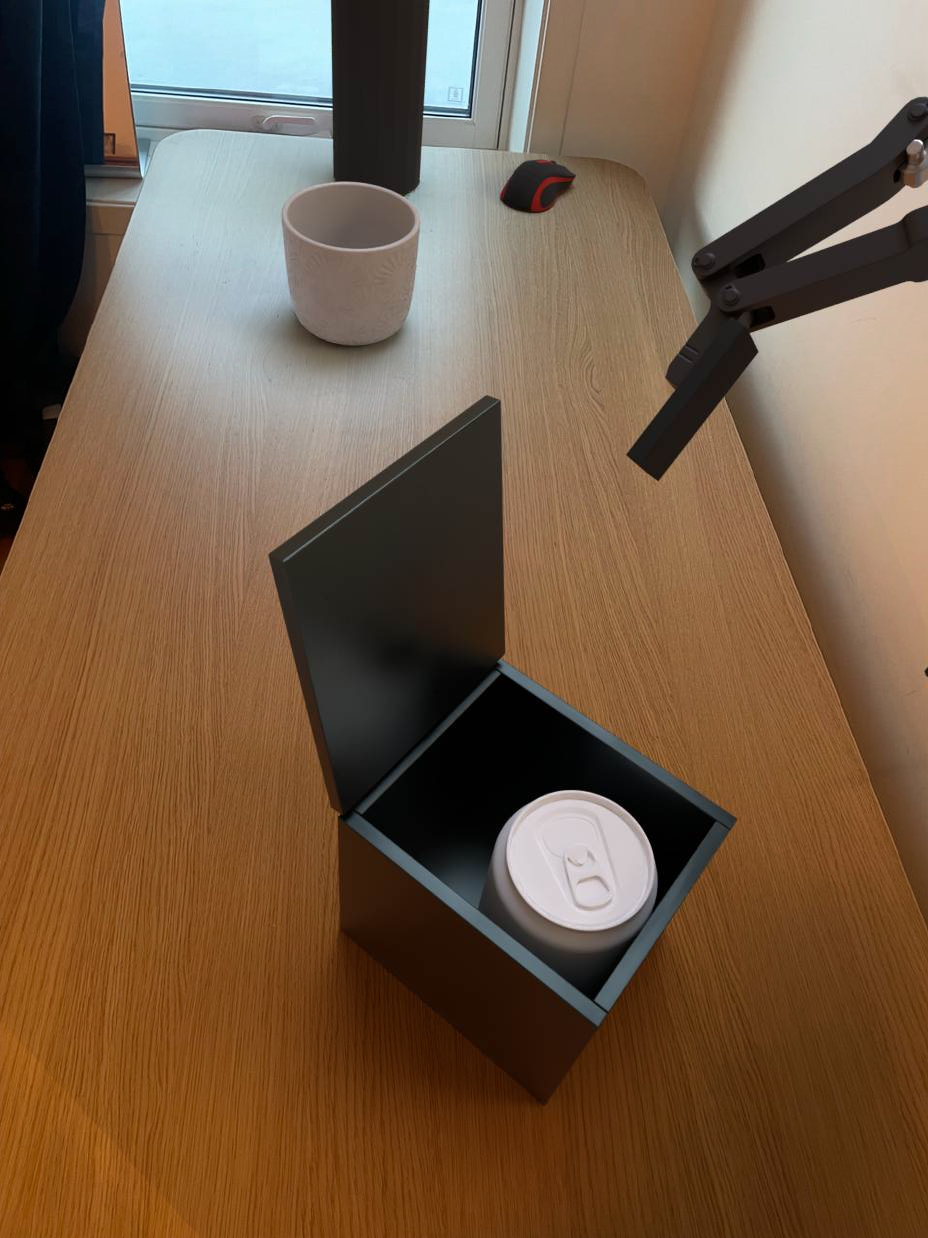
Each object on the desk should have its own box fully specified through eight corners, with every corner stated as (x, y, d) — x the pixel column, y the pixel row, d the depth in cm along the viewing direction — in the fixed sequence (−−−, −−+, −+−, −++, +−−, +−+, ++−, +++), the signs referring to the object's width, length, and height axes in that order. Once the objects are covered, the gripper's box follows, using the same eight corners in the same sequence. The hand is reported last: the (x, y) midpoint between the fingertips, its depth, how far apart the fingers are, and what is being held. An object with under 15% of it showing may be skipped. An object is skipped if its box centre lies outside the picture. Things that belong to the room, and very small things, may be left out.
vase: (339, 199, 107) (336, -127, 84) (327, 157, 113) (321, -158, 90) (427, 197, 109) (448, -122, 86) (410, 156, 115) (425, -151, 92)
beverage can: (580, 867, 57) (625, 766, 48) (632, 999, 52) (693, 916, 43) (452, 899, 55) (474, 800, 46) (495, 1040, 50) (529, 962, 41)
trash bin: (664, 926, 56) (738, 818, 45) (544, 1106, 49) (598, 1029, 38) (472, 783, 61) (498, 656, 50) (339, 929, 54) (336, 817, 43)
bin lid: (501, 399, 39) (486, 393, 39) (282, 562, 32) (266, 553, 32) (506, 654, 50) (493, 647, 50) (342, 816, 43) (330, 808, 43)
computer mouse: (579, 183, 115) (586, 150, 112) (538, 217, 109) (543, 183, 106) (535, 167, 117) (540, 134, 114) (491, 199, 110) (495, 165, 107)
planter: (278, 290, 94) (271, 183, 86) (397, 282, 97) (402, 177, 89) (299, 364, 87) (293, 255, 79) (428, 352, 90) (436, 246, 82)
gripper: (1563, 280, 29) (1074, 787, 34) (880, 11, 40) (575, 423, 44) (1743, 146, 23) (1106, 799, 27) (867, -134, 33) (509, 367, 38)
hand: (775, 566), depth 36 cm, fingers open, 13 cm apart
